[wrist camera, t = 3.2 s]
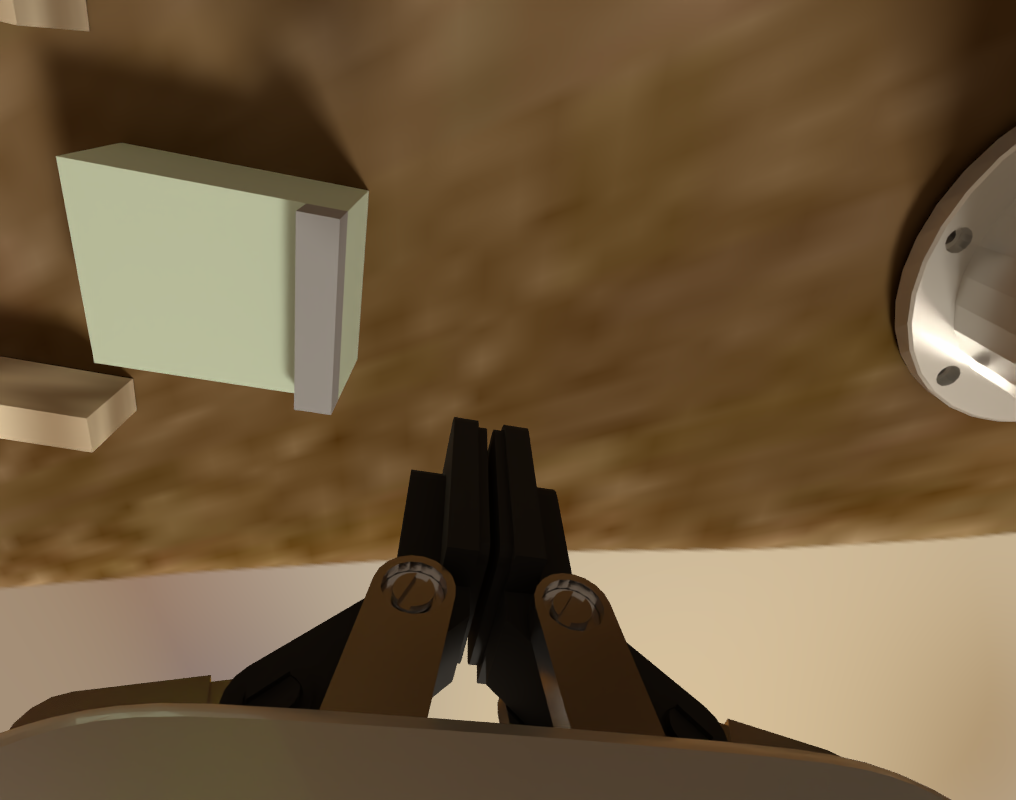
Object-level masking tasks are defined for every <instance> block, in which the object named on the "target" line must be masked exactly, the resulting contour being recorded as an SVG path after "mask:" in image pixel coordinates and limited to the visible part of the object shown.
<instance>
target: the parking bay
mask: <svg viewBox="0 0 1016 800" xmlns="http://www.w3.org/2000/svg"><path fill="white" fill-rule="evenodd" d="M0 21H1V22H6V23H10V24H14V25H20V26H32V27H44V28H56V29H68V30H80V31H89V23H88V15H87V7H86V0H0ZM136 410H137V409H136V401H135V393H134V385H133V379H131V378H125V377H119V376H113V375H107V374H101V373H96V372H90V371H84V370H78V369H72V368H66V367H60V366H54V365H48V364H42V363H36V362H30V361H25V360H19V359H13V358H7V357H1V356H0V438H2V439H8V440H15V441H21V442H28V443H35V444H41V445H48V446H54V447H61V448H67V449H74V450H80V451H87V452H94V451H95V450H96V449H97V448H98V447H99V446H100V445H101V444H102V443H103V442H104V441H105V440H106V439H107V438H108V437H109V436H110V435H111V434H112V433H113V432H114V431H115V430H116V429H118V428H119V427H120V426H121V425H122V424H123V423H124V422H125V421H126V420H127V419H128V418H129V417H130V416H131V415H132V414H133V413H134V412H135V411H136Z"/></svg>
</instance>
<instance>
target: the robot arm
mask: <svg viewBox="0 0 1016 800" xmlns="http://www.w3.org/2000/svg"><path fill="white" fill-rule="evenodd" d="M895 332H896V337H897V341H898V346H899V350H900V354H901V356H902V358H903V360H904V362H905V364H906V365H907V367H908V369H909V371H910V373H911V375H912V376H913V377H914V378H915V379H916V380H917V381H918V382H919V383H920V384H921V385H922V386H923V387H924V388H925V389H926V390H927V391H928V392H930V393H931V394H933V395H934V396H935V397H937V398H938V399H940V400H941V401H942V402H944V403H945V404H946V405H948V406H949V407H951V408H953V409H956V410H958V411H960V412H963V413H965V414H967V415H970V416H972V417H977V418H982V419H987V420H993V421H1003V422H1016V127H1014V128H1013V129H1011V130H1010V131H1009V132H1007V133H1006V134H1005V135H1003V136H1002V137H1000V138H999V139H998V140H997V141H996V142H995V143H993V144H992V145H991V146H990V147H989V148H988V149H987V150H986V151H985V152H984V153H983V154H982V155H981V156H980V157H979V158H977V159H976V160H975V161H974V162H973V163H972V164H971V165H970V166H969V167H968V168H967V169H966V170H965V171H964V172H963V173H962V174H961V176H960V177H959V178H958V179H957V181H956V182H955V183H954V184H953V185H952V187H951V188H950V189H949V190H948V191H947V193H946V194H945V195H944V196H943V198H942V199H941V200H940V201H939V202H938V204H937V205H936V207H935V208H934V210H933V212H932V213H931V215H930V217H929V218H928V220H927V221H926V223H925V225H924V226H923V228H922V230H921V231H920V233H919V234H918V236H917V238H916V240H915V242H914V245H913V247H912V249H911V252H910V254H909V257H908V259H907V261H906V264H905V266H904V268H903V271H902V275H901V280H900V284H899V288H898V293H897V297H896V302H895ZM467 637H468V664H470V665H477V683H481V684H486V685H487V686H488V687H489V688H490V689H491V690H492V691H493V692H494V693H495V694H496V695H497V696H498V697H499V700H498V718H499V723H489V722H475V721H462V720H449V719H437V718H427V717H428V713H429V709H430V704H431V700H432V697H433V696H435V695H436V694H437V693H439V692H440V691H441V690H442V689H443V688H444V687H446V686H447V685H448V684H450V683H451V682H452V680H453V677H454V673H455V669H456V665H457V663H460V662H461V659H462V656H463V652H464V648H465V645H466V641H467ZM0 800H951V799H949V798H947V797H945V796H944V795H942V794H940V793H938V792H937V791H935V790H933V789H931V788H929V787H927V786H924V785H922V784H920V783H918V782H915V781H913V780H911V779H909V778H907V777H905V776H902V775H900V774H897V773H895V772H892V771H889V770H886V769H883V768H880V767H877V766H874V765H871V764H868V763H865V762H861V761H856V760H852V759H848V758H844V757H840V756H838V755H836V754H834V753H832V752H830V751H828V750H825V749H822V748H819V747H816V746H812V745H809V744H806V743H803V742H800V741H797V740H793V739H790V738H787V737H784V736H781V735H778V734H774V733H771V732H768V731H765V730H762V729H758V728H755V727H752V726H749V725H746V724H743V723H739V722H737V721H734V720H730V719H727V721H726V722H725V724H721V723H719V722H718V721H717V719H716V718H715V717H714V716H713V715H712V714H711V713H710V711H708V709H707V708H705V707H704V706H703V705H702V704H701V703H700V702H699V701H697V700H696V699H695V698H694V697H692V696H691V695H690V694H689V693H688V692H686V691H685V690H684V689H683V688H681V687H680V686H679V685H678V684H677V683H675V682H674V681H673V680H672V679H670V678H669V677H668V676H667V675H666V674H664V673H663V672H662V671H661V670H660V669H658V668H657V667H656V666H655V665H653V664H652V663H651V662H650V661H649V660H647V659H646V658H645V657H644V656H642V655H641V654H640V653H639V652H638V651H636V650H635V649H634V648H633V647H632V646H630V645H629V644H628V643H627V642H626V640H625V638H624V636H623V633H622V631H621V629H620V626H619V624H618V621H617V619H616V617H615V615H614V612H613V609H612V607H611V605H610V603H609V601H608V599H607V598H606V596H605V594H604V593H603V592H602V591H601V590H600V589H599V588H598V587H597V586H596V585H594V584H593V583H591V582H590V581H588V580H586V579H585V578H582V577H579V576H576V575H573V574H572V573H571V567H570V562H569V557H568V551H567V546H566V541H565V535H564V530H563V525H562V520H561V514H560V509H559V504H558V499H557V495H556V492H555V491H554V490H552V489H545V488H538V487H537V486H536V479H535V472H534V465H533V458H532V451H531V444H530V438H529V431H528V429H527V428H521V427H514V426H508V425H503V427H502V430H501V431H499V430H493V432H492V436H491V440H490V444H489V448H488V451H487V429H486V428H479V423H478V421H476V420H470V419H463V418H457V417H454V419H453V423H452V428H451V433H450V438H449V443H448V448H447V453H446V458H445V464H444V469H443V474H438V473H431V472H424V471H417V470H411V475H410V481H409V487H408V493H407V500H406V506H405V512H404V518H403V524H402V530H401V536H400V543H399V549H398V555H397V558H395V559H392V560H390V561H388V562H386V563H385V564H384V565H382V566H381V567H380V568H379V569H378V571H377V572H376V574H375V575H374V577H373V579H372V582H371V584H370V587H369V589H368V592H367V594H366V597H365V598H364V599H363V600H361V601H359V602H357V603H356V604H354V605H352V606H351V607H349V608H347V609H345V610H344V611H342V612H340V613H339V614H337V615H335V616H333V617H332V618H330V619H328V620H327V621H325V622H323V623H322V624H320V625H318V626H316V627H315V628H313V629H311V630H310V631H308V632H306V633H304V634H303V635H301V636H299V637H298V638H296V639H294V640H292V641H291V642H289V643H287V644H286V645H284V646H282V647H281V648H279V649H277V650H276V651H274V652H272V653H270V654H269V655H267V656H265V657H263V658H262V659H260V660H258V661H257V662H255V663H253V664H252V665H250V666H248V667H247V668H246V669H244V670H243V671H242V672H240V673H239V674H238V675H236V676H235V677H234V678H233V679H231V680H223V681H215V682H211V675H208V676H199V677H191V678H183V679H174V680H166V681H158V682H150V683H141V684H133V685H125V686H117V687H108V688H100V689H91V690H84V691H75V692H70V693H67V694H62V695H58V696H55V697H51V698H49V699H47V700H46V701H44V702H42V703H40V704H38V705H36V706H35V707H32V708H31V709H30V710H29V711H27V712H26V713H25V714H24V715H23V716H22V717H21V718H19V719H18V720H17V721H16V722H15V723H14V724H13V725H12V727H11V728H10V730H8V731H5V732H2V733H0Z"/></svg>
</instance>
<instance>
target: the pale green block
mask: <svg viewBox="0 0 1016 800" xmlns="http://www.w3.org/2000/svg"><path fill="white" fill-rule="evenodd" d="M56 159H57V165H58V170H59V175H60V181H61V186H62V192H63V197H64V202H65V208H66V213H67V218H68V224H69V229H70V235H71V240H72V245H73V251H74V256H75V261H76V267H77V272H78V278H79V283H80V288H81V294H82V299H83V304H84V310H85V315H86V321H87V326H88V331H89V337H90V342H91V347H92V353H93V358H94V363H99V364H106V365H112V366H119V367H126V368H132V369H139V370H145V371H152V372H158V373H165V374H172V375H178V376H185V377H191V378H198V379H204V380H211V381H218V382H224V383H231V384H237V385H244V386H250V387H257V388H264V389H270V390H277V391H283V392H290V393H294V409H295V410H301V411H308V412H315V413H321V414H328V415H331V414H332V412H333V410H334V407H335V405H336V403H337V401H338V399H339V397H340V395H341V393H342V390H343V388H344V386H345V384H346V382H347V380H348V378H349V376H350V373H351V371H352V369H353V367H354V365H355V363H356V361H357V355H358V341H359V326H360V312H361V297H362V283H363V268H364V253H365V239H366V224H367V210H368V195H369V191H368V190H363V189H358V188H353V187H348V186H343V185H338V184H332V183H327V182H322V181H317V180H312V179H307V178H301V177H296V176H291V175H286V174H281V173H276V172H271V171H265V170H260V169H255V168H250V167H245V166H240V165H234V164H229V163H224V162H219V161H214V160H209V159H203V158H198V157H193V156H188V155H183V154H178V153H173V152H167V151H162V150H157V149H152V148H147V147H142V146H136V145H131V144H126V143H117V144H112V145H107V146H102V147H98V148H93V149H88V150H83V151H78V152H73V153H69V154H64V155H59V156H56Z"/></svg>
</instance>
